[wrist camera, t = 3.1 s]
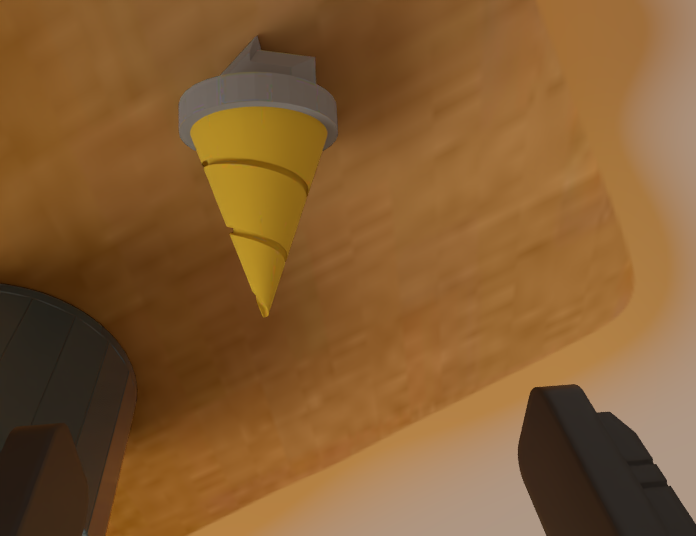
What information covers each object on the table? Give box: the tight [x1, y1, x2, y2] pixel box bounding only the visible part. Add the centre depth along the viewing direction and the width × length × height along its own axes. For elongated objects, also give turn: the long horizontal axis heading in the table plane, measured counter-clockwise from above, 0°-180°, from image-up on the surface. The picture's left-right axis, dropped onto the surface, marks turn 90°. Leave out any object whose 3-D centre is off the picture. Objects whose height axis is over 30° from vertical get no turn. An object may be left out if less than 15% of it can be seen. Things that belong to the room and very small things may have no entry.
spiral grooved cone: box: [179, 36, 338, 318], centre depth 21 cm, size 5×5×10 cm
